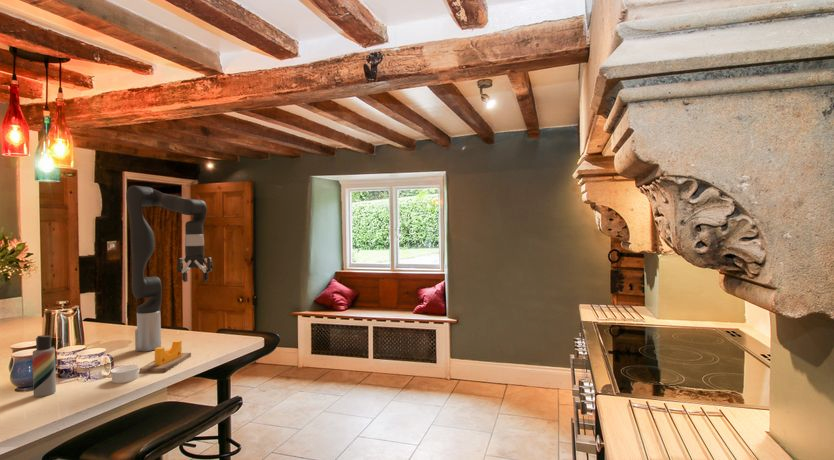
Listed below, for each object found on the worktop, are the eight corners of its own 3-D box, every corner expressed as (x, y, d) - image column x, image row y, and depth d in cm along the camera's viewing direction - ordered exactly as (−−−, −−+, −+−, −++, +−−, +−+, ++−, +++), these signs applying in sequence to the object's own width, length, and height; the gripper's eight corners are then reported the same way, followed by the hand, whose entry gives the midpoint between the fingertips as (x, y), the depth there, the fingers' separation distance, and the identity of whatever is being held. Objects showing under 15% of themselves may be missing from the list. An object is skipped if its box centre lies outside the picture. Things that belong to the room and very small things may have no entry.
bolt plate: (139, 372, 164) (139, 368, 164) (167, 356, 184) (167, 352, 184) (166, 372, 164) (166, 367, 164) (191, 356, 184) (191, 352, 184)
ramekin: (117, 386, 151) (116, 373, 150) (106, 381, 155) (105, 369, 155) (144, 378, 158) (143, 366, 158) (132, 374, 163) (132, 362, 163)
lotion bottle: (33, 394, 144) (31, 335, 144) (55, 389, 148) (53, 332, 148) (34, 398, 140) (32, 338, 140) (56, 393, 144) (55, 335, 144)
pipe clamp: (171, 355, 180) (172, 340, 180) (181, 356, 179) (181, 340, 179) (150, 364, 168) (150, 348, 168) (160, 365, 167) (160, 348, 167)
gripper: (214, 244, 191) (215, 280, 191) (182, 244, 190) (183, 280, 190) (207, 244, 183) (208, 282, 183) (173, 245, 182) (174, 282, 183)
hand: (195, 281), depth 187 cm, fingers open, 8 cm apart
